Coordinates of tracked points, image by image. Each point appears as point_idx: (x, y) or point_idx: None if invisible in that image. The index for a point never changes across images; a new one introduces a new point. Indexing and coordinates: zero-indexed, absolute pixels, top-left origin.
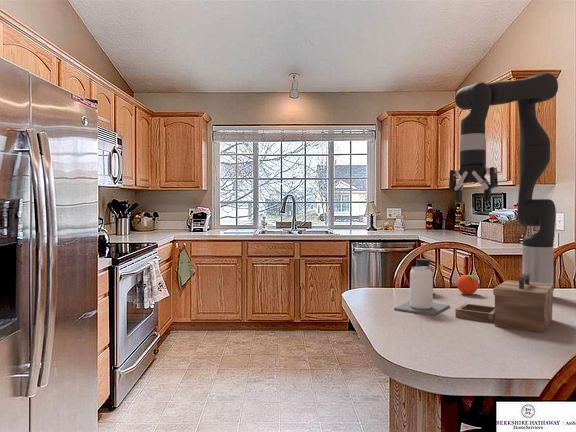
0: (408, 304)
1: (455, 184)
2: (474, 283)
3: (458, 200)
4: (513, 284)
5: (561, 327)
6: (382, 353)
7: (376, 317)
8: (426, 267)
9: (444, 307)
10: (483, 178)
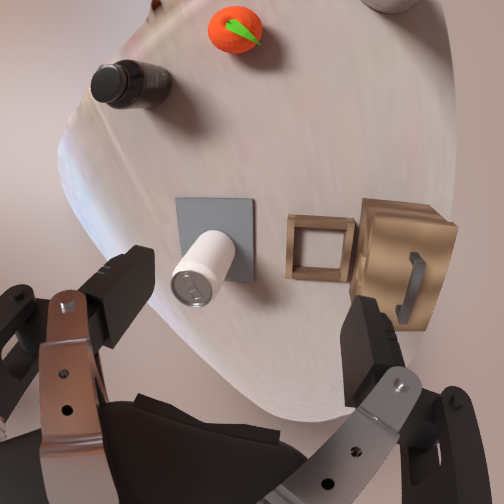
0: (188, 239)
1: (16, 327)
2: (256, 38)
3: (146, 297)
4: (388, 272)
5: None
6: (265, 409)
7: (192, 323)
8: (194, 271)
9: (251, 227)
10: (341, 481)
